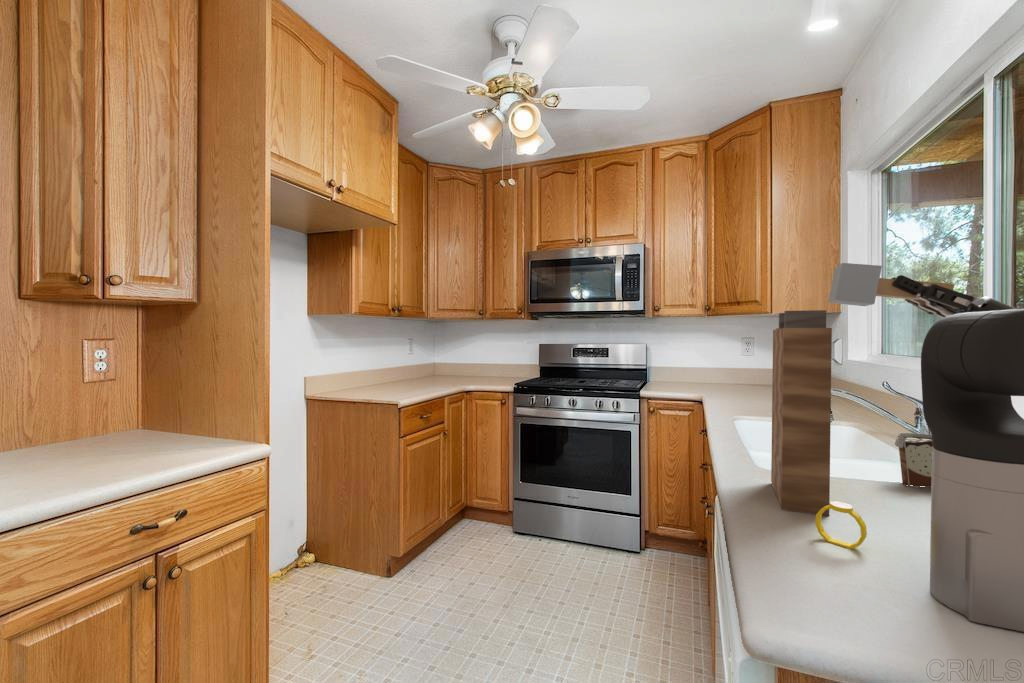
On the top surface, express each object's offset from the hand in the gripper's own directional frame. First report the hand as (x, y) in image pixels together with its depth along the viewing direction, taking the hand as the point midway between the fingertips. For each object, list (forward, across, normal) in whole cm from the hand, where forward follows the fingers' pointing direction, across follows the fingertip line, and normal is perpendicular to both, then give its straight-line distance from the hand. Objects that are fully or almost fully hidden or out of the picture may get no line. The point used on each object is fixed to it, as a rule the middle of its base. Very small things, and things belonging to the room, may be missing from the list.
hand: (892, 281), depth 84 cm
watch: (-10, -26, -42) cm, 50 cm away
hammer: (-2, 0, -5) cm, 5 cm away
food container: (-30, +17, -30) cm, 46 cm away
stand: (-7, -6, -43) cm, 44 cm away
